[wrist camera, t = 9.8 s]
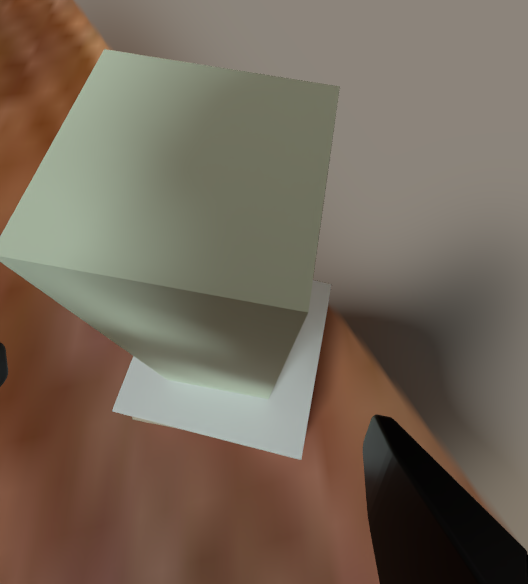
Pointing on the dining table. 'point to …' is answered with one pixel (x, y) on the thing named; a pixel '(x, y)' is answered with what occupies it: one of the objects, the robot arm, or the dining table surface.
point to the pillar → (183, 215)
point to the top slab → (238, 396)
